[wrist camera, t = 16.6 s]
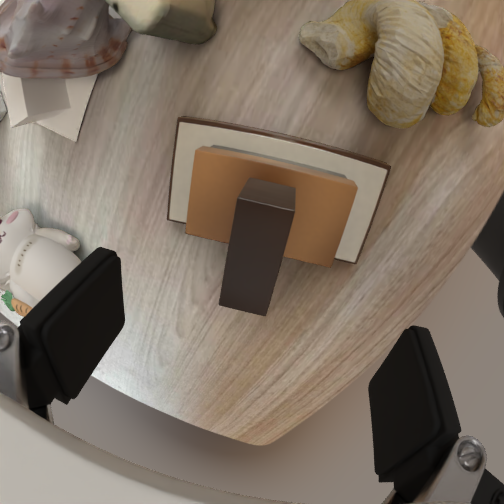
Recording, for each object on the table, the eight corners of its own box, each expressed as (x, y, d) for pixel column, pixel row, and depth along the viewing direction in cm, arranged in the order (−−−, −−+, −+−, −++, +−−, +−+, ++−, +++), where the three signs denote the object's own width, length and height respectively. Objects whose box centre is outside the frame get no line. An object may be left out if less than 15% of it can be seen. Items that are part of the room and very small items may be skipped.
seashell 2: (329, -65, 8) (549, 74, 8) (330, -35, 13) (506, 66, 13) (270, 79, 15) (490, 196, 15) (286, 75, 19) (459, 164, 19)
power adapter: (139, 43, 18) (73, 30, 11) (160, -15, 15) (103, -50, 8) (210, 54, 18) (164, 34, 11) (232, -8, 15) (198, -55, 8)
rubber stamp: (348, 172, 19) (385, 232, 11) (326, 243, 22) (339, 334, 14) (211, 141, 20) (148, 176, 11) (200, 213, 22) (145, 287, 14)
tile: (386, 162, 20) (392, 167, 19) (354, 257, 24) (357, 267, 22) (183, 115, 20) (175, 117, 19) (172, 214, 24) (165, 221, 23)
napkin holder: (77, 143, 22) (32, 159, 17) (6, 110, 21) (-35, 121, 16) (143, -21, 15) (104, -43, 10) (54, -27, 14) (14, -37, 9)
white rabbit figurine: (58, 338, 20) (-56, 262, 17) (75, 347, 27) (-24, 286, 24) (104, 239, 25) (-9, 182, 22) (109, 269, 32) (11, 219, 28)
